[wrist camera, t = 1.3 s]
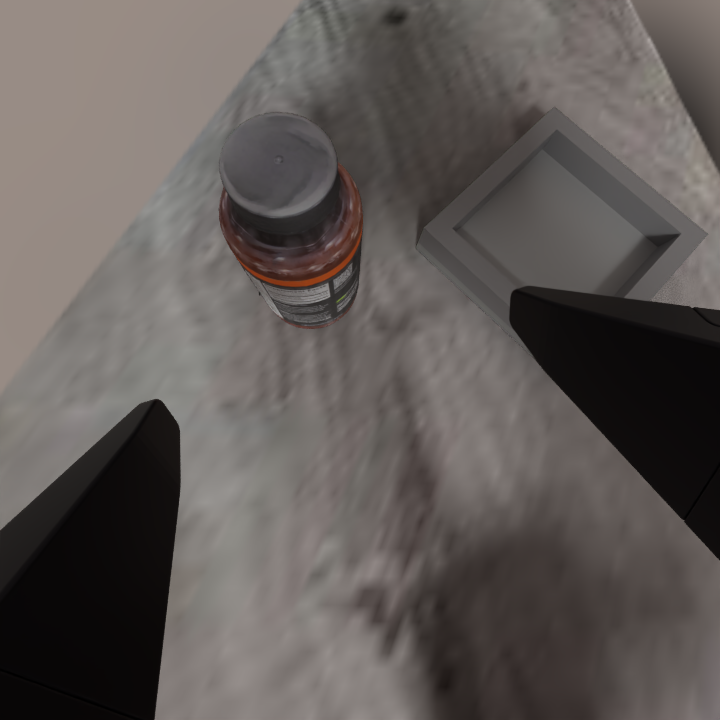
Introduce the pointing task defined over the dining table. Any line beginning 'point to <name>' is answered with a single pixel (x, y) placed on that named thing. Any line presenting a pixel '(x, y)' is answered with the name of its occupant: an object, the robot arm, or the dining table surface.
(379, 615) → the dining table surface
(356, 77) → the dining table surface
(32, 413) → the dining table surface
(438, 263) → the tray
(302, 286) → the supplement bottle
